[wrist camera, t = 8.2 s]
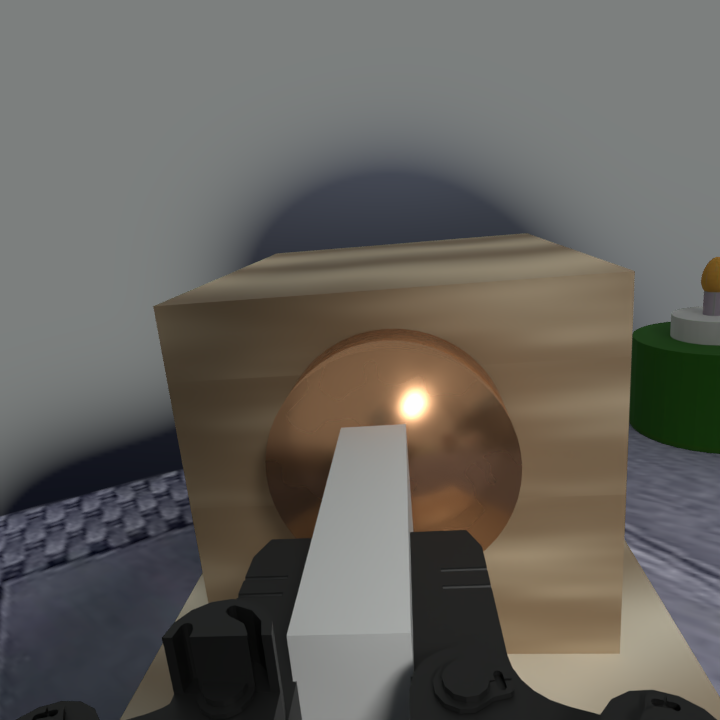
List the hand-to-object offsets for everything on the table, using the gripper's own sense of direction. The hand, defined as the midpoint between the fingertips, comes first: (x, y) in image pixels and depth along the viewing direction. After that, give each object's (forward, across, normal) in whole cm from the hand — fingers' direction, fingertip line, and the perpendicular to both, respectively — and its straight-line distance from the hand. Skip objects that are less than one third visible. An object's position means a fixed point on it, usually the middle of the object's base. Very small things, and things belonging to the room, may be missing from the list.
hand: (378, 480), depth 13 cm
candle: (+22, +18, -9) cm, 29 cm away
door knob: (+8, 0, -3) cm, 8 cm away
